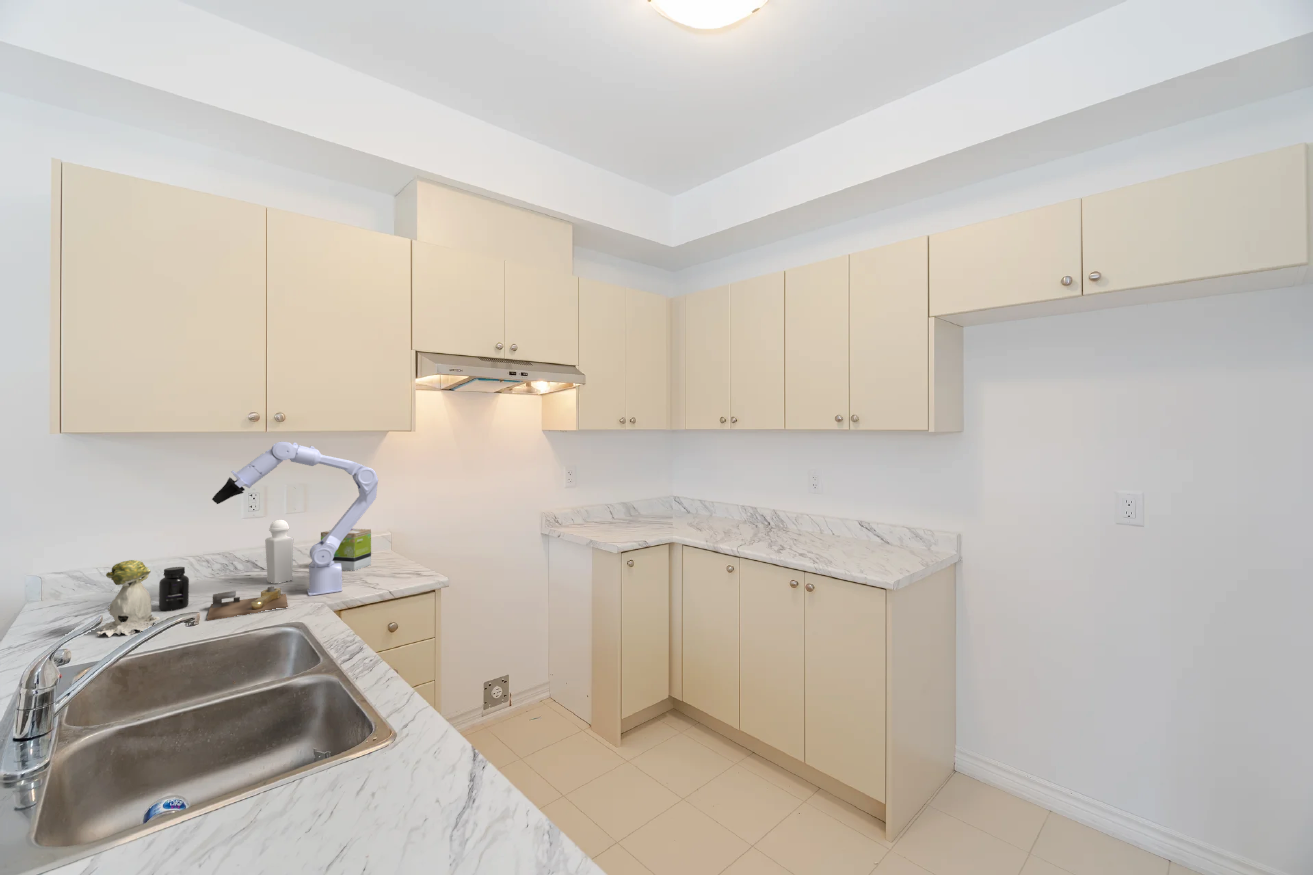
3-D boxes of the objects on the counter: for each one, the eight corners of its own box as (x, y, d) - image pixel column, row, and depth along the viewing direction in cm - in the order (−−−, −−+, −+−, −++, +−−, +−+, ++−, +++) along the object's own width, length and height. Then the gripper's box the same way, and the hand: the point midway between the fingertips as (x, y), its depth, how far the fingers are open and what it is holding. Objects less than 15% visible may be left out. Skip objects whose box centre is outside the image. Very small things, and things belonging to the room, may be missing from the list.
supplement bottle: (171, 612, 166) (171, 571, 166) (152, 610, 168) (152, 570, 168) (194, 605, 173) (194, 566, 173) (176, 603, 174) (176, 565, 174)
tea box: (319, 569, 218) (319, 531, 218) (338, 563, 228) (338, 527, 227) (354, 571, 215) (354, 532, 215) (372, 565, 225) (371, 528, 225)
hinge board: (285, 595, 182) (285, 582, 182) (288, 608, 169) (287, 593, 169) (211, 606, 171) (210, 592, 171) (207, 620, 158) (207, 605, 158)
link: (265, 596, 178) (265, 588, 178) (282, 595, 180) (282, 587, 180) (246, 609, 165) (246, 601, 165) (264, 608, 166) (264, 600, 166)
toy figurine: (160, 618, 161) (160, 553, 161) (158, 630, 151) (157, 561, 151) (102, 627, 153) (101, 559, 153) (95, 640, 143) (94, 568, 143)
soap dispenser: (294, 580, 202) (293, 519, 201) (274, 584, 196) (273, 521, 196) (285, 578, 205) (284, 517, 205) (265, 582, 200) (264, 520, 199)
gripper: (246, 459, 181) (206, 489, 175) (245, 461, 169) (202, 493, 164) (264, 475, 184) (224, 505, 178) (264, 478, 172) (222, 510, 166)
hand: (215, 500), depth 171 cm, fingers open, 7 cm apart
